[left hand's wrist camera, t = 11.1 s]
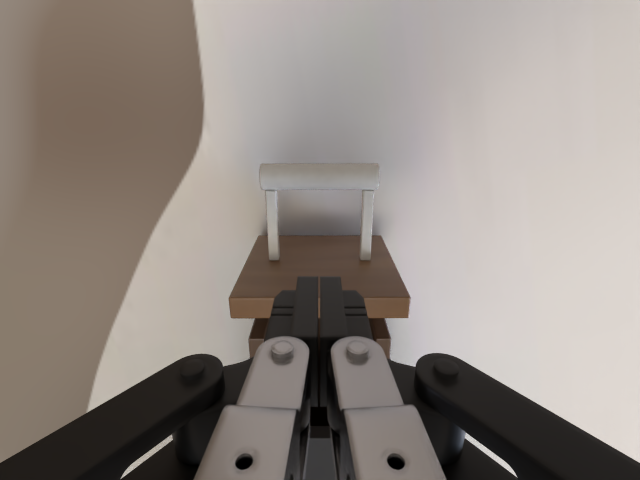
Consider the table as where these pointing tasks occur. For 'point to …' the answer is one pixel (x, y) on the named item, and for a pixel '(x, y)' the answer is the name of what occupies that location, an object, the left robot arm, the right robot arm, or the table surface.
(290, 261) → the drawer
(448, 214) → the table surface
